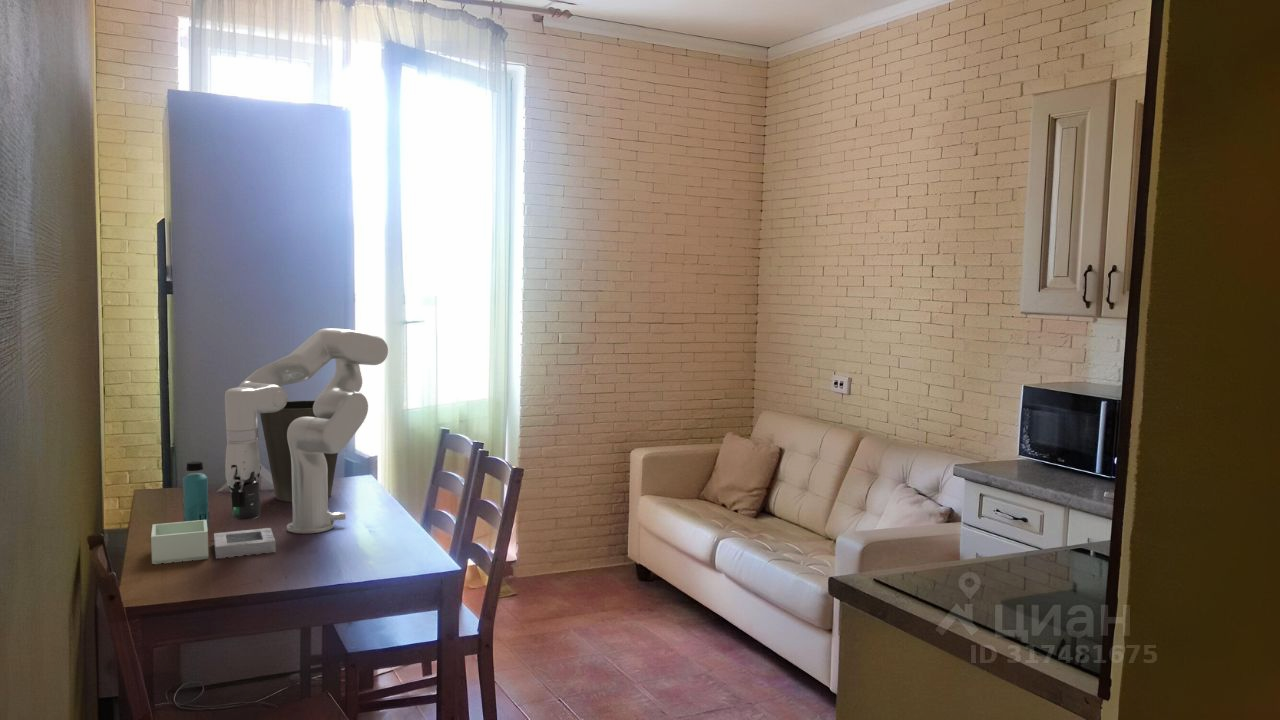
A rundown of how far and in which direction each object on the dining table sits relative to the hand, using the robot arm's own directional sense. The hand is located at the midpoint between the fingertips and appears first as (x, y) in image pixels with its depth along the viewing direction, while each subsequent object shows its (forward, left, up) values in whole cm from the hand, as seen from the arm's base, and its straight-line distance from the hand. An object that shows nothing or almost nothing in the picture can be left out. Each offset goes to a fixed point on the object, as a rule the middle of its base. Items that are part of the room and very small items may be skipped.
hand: (245, 502), depth 247 cm
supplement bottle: (0, 0, -4) cm, 4 cm away
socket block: (+1, 0, -12) cm, 12 cm away
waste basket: (-20, -55, -12) cm, 60 cm away
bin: (+16, 0, -12) cm, 20 cm away
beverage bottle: (+12, -20, -12) cm, 26 cm away
